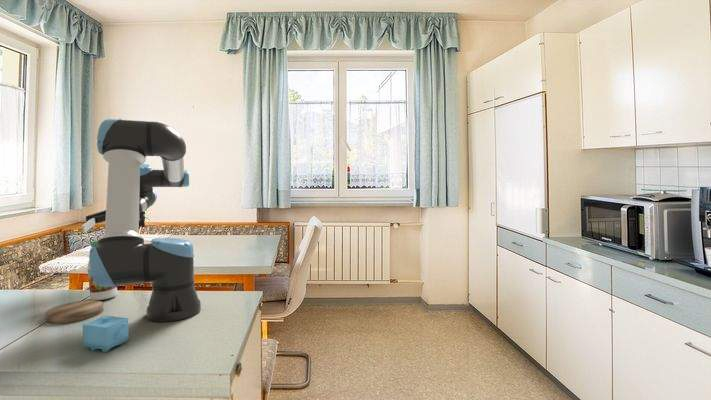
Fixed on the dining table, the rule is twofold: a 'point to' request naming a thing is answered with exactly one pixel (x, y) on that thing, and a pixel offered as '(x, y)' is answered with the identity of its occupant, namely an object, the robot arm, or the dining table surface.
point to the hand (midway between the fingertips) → (104, 230)
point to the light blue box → (105, 333)
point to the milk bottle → (96, 290)
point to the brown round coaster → (74, 311)
